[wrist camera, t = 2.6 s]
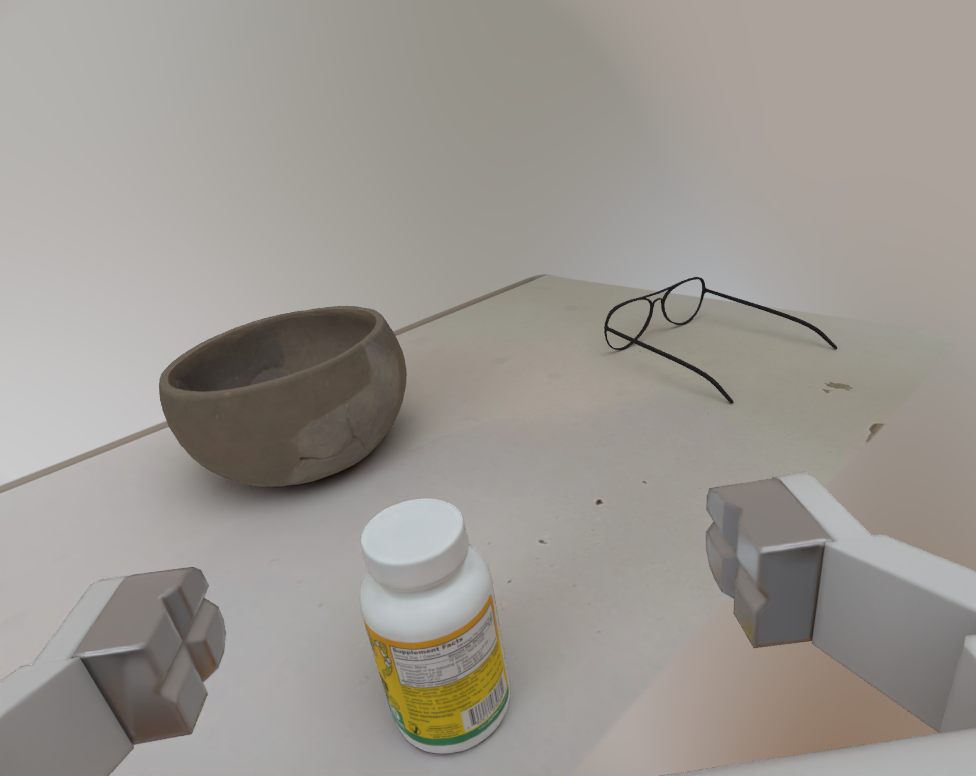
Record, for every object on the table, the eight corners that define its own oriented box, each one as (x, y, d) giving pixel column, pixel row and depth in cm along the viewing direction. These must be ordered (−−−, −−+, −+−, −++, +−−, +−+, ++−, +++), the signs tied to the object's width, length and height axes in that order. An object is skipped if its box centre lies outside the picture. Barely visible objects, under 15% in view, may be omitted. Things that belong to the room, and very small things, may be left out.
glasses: (700, 315, 66) (705, 271, 63) (833, 365, 55) (846, 314, 52) (601, 356, 60) (602, 309, 57) (728, 422, 49) (737, 367, 46)
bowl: (156, 485, 49) (106, 371, 45) (326, 391, 61) (299, 296, 57) (289, 549, 39) (241, 411, 35) (459, 422, 51) (439, 309, 47)
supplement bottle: (511, 755, 25) (477, 572, 21) (382, 762, 25) (324, 584, 21) (512, 647, 29) (484, 482, 25) (403, 655, 30) (359, 494, 26)
